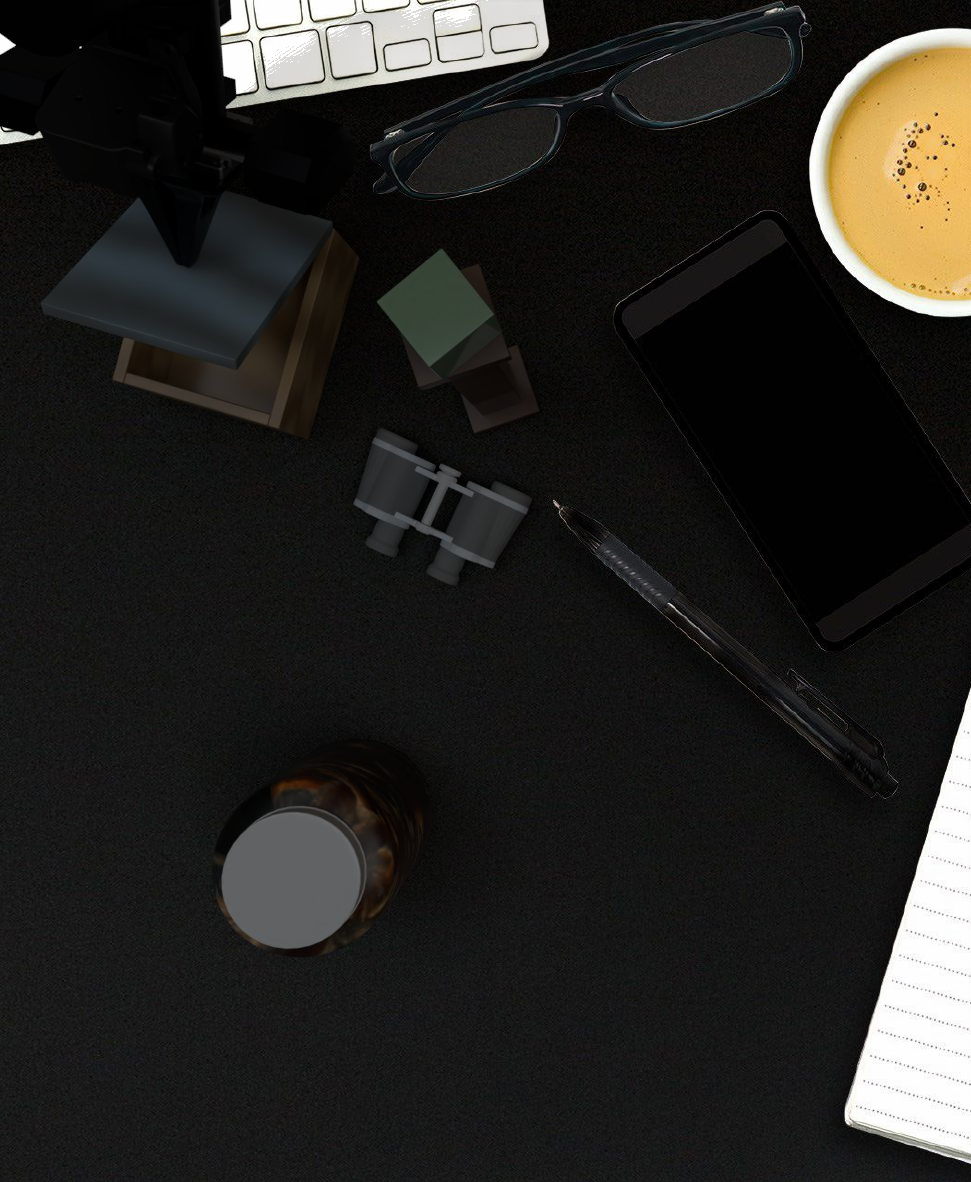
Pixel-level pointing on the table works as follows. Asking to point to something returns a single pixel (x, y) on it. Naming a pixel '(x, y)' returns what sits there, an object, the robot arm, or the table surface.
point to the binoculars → (435, 508)
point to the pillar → (485, 375)
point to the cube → (441, 315)
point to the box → (261, 355)
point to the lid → (192, 280)
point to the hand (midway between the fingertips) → (187, 263)
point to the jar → (322, 848)
